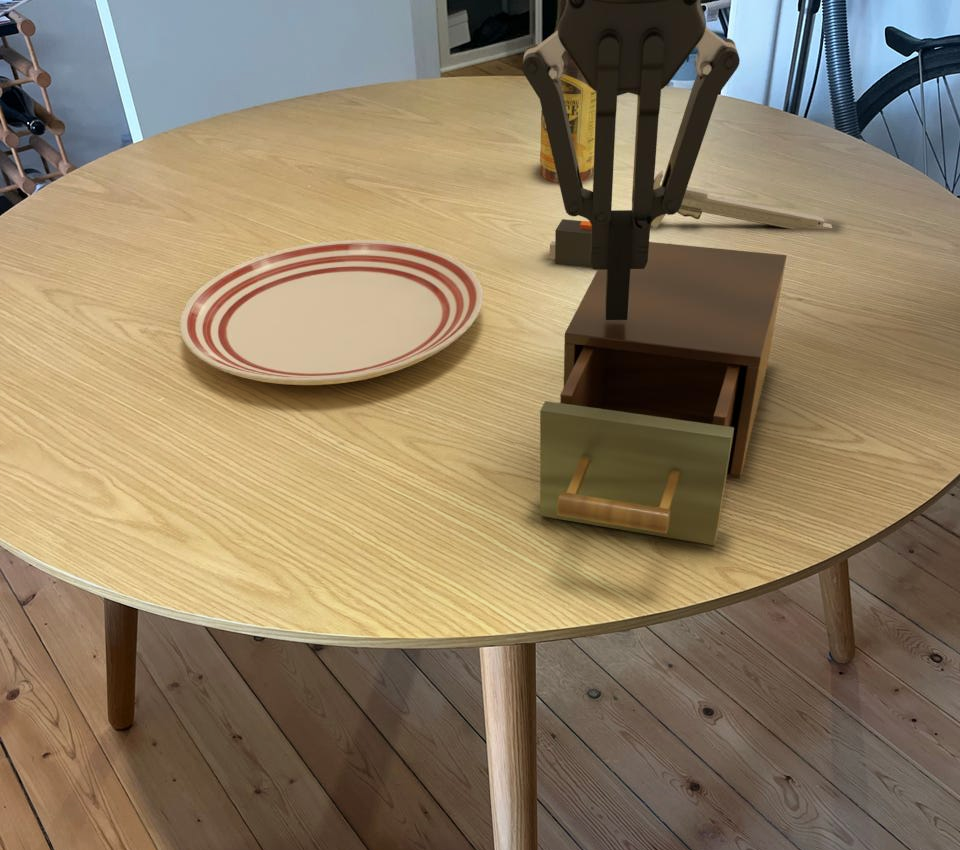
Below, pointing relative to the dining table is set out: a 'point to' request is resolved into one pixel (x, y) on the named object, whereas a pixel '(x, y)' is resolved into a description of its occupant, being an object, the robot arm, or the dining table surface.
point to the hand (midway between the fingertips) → (616, 310)
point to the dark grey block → (572, 243)
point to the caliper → (740, 210)
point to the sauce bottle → (573, 118)
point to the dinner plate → (331, 312)
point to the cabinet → (692, 318)
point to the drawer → (640, 443)
